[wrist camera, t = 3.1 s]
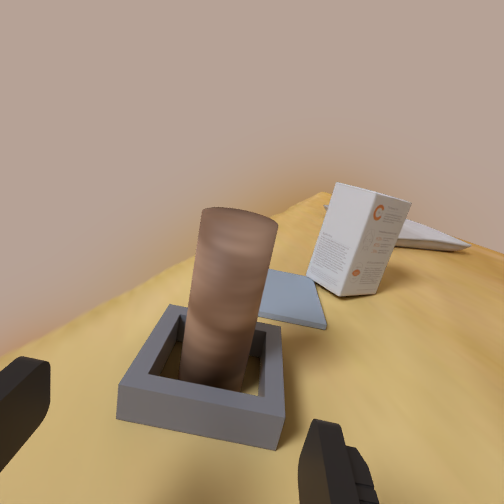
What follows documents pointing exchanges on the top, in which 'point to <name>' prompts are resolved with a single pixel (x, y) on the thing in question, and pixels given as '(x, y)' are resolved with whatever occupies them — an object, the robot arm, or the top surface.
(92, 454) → the top surface
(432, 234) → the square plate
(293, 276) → the mat
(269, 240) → the plug
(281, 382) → the socket
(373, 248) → the small box
